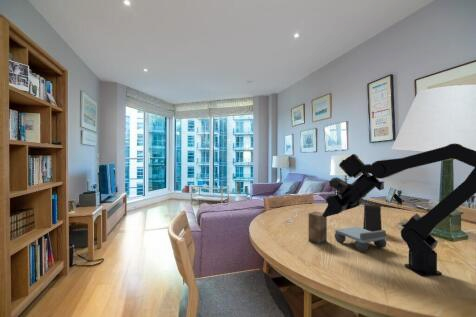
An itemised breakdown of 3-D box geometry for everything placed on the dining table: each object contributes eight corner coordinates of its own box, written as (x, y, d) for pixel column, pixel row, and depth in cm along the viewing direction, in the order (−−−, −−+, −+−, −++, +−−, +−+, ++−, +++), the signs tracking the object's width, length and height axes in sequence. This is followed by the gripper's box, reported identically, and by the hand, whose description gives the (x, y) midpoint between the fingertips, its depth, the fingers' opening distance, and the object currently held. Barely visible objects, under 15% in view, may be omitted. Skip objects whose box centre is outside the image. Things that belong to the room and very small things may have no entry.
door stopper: (382, 236, 102) (382, 207, 102) (365, 235, 104) (366, 206, 104) (378, 230, 110) (378, 203, 110) (363, 229, 112) (363, 202, 112)
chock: (326, 241, 97) (326, 213, 97) (320, 244, 93) (320, 215, 93) (315, 238, 100) (315, 211, 100) (308, 241, 97) (308, 213, 97)
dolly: (386, 249, 89) (386, 231, 88) (364, 253, 85) (364, 235, 84) (355, 237, 102) (355, 221, 101) (334, 240, 98) (334, 224, 97)
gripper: (354, 169, 95) (327, 194, 104) (331, 172, 82) (302, 200, 91) (376, 192, 90) (345, 216, 98) (355, 198, 77) (322, 226, 85)
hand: (329, 214), depth 93 cm, fingers open, 9 cm apart
